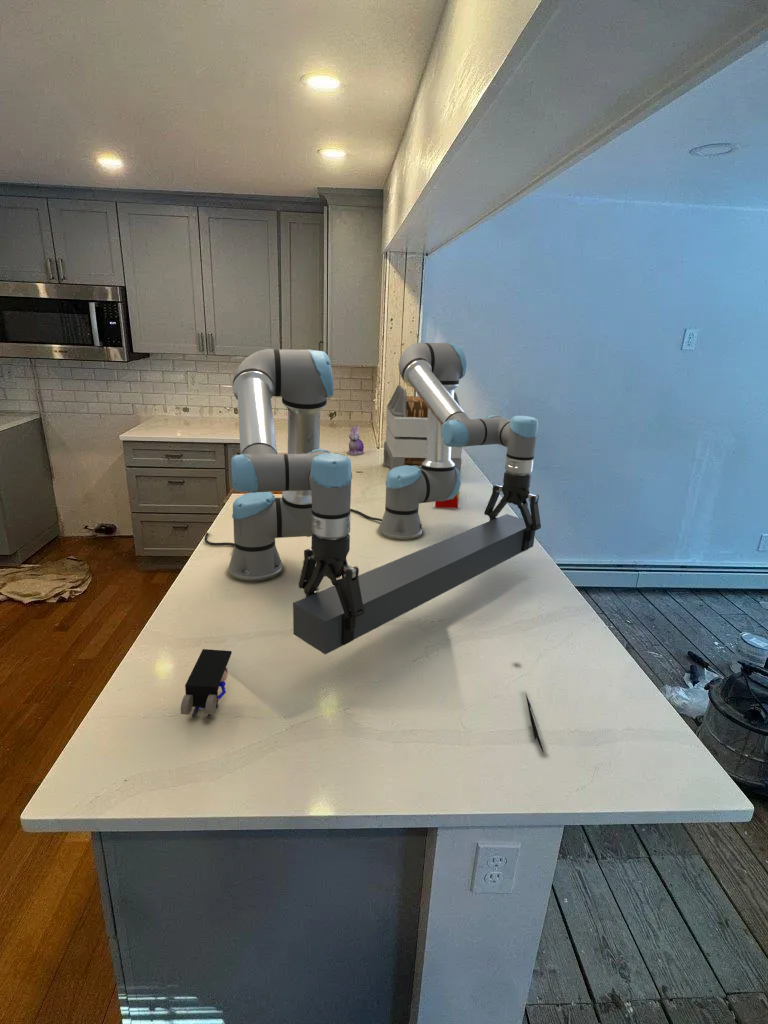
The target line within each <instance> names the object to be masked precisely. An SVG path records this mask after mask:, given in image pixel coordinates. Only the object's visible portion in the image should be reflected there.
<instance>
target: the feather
mask: <svg viewBox="0 0 768 1024" xmlns="http://www.w3.org/2000/svg"><path fill="white" fill-rule="evenodd" d="M525 697H526V698H525V699H526V703H527V708H528V714H529V719H530V723H531V728H532V733H533V738H534V740H537V742H538V744H539V746H540V749H541V751H542V753H545V751H544V749H543V746H542V741H541V739H543V737H544V736H543V734H541V735H542V736H539V733H542V730H541V729H539V731H538V728H539V727H540V725H539V723H538V721H537V719H536V716H535V713H534V711H533V708H532V705H531V703H530V700H529V697H528V694H527V692H526V691H525ZM536 725H537V726H536ZM540 737H541V739H540ZM544 744H545V743H544ZM544 746H547V745H546V744H545V745H544Z"/></svg>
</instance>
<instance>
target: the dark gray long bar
mask: <svg viewBox="0 0 768 1024" xmlns="http://www.w3.org/2000/svg"><path fill="white" fill-rule="evenodd" d="M525 529H527V528H526V525H525V522H524V520H523V518H521V517H518V516H515V515H511V514H509V513H506V514H503V515H501V516H499V517H498V516H497V517H496V519H493V520H491V521H486V522H483V523H482V524H479V525H476V526H474V527H471V528H469V529H467V530H465V531H463V532H460V533H458V534H455V535H453V536H452V535H451V536H450V537H447V538H445V539H443V540H440V541H438V542H436V543H433V544H430V545H428V546H426V547H423V548H421V549H419V550H417V551H414V552H411V553H409V554H407V555H404V556H402V557H400V558H397V559H395V560H392V561H390V562H388V563H385V564H382V565H380V566H378V567H375V568H372V569H371V570H368V571H366V572H364V573H360V574H358V580H359V585H360V591H361V596H362V602H363V607H364V614H363V615H360V616H358V617H356V628H355V629H354V640H356V639H358V638H361V637H362V636H364V635H366V634H368V633H370V632H372V631H373V630H375V629H377V628H379V627H381V626H383V625H385V624H387V623H389V622H391V621H393V620H395V619H397V618H399V617H400V616H402V615H405V614H406V613H408V612H410V611H412V610H413V609H416V608H418V607H420V606H422V605H423V604H425V603H427V602H429V601H431V600H433V599H436V598H437V597H439V596H441V595H443V594H445V593H446V592H448V591H450V590H453V589H455V588H457V587H458V586H460V585H462V584H464V583H465V582H468V581H470V580H472V579H474V578H475V577H477V576H479V575H482V574H483V573H485V572H487V571H489V570H491V569H492V568H495V567H496V566H498V565H500V564H503V563H504V562H506V561H508V560H510V559H513V558H515V556H518V555H520V554H522V553H523V551H521V549H522V542H523V535H524V530H525ZM535 537H536V531H534V532H533V539H532V540H531V541H529V548H528V550H530V549H531V548H533V547H534V542H535ZM317 592H318V593H315V594H313V595H310V596H308V597H306V596H305V597H303V598H301V599H298V600H296V601H293V602H292V625H293V626H292V631H293V632H292V633H293V635H294V636H295V637H297V638H298V639H300V640H301V641H303V642H305V643H306V644H308V645H309V646H311V647H313V648H314V649H316V650H317V651H319V652H320V653H322V654H323V655H327V654H329V653H331V652H333V651H335V650H337V649H339V648H341V647H343V646H344V645H342V644H341V637H342V615H344V614H345V613H344V611H343V608H342V605H341V602H340V599H339V596H338V593H337V590H336V588H335V586H334V585H331V586H330V587H327V588H325V589H323V590H320V591H317ZM349 610H350V609H349Z"/></svg>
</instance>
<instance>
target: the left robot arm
mask: <svg viewBox="0 0 768 1024" xmlns="http://www.w3.org/2000/svg"><path fill="white" fill-rule="evenodd" d="M334 391H335V386H334V377H333V368H332V365H331V360H330V357H329V355H328V354H327V353H326V352H325V351H323V350H314V349H285V348H284V349H279V348H278V349H277V348H265V349H261V350H257V351H255V352H254V353H252V354H250V355H248V356H247V357H246V358H245V359H244V360H242V362H241V363H240V364H239V366H237V368H236V370H235V372H234V375H233V378H232V392H233V393H232V394H233V395H234V397H235V399H236V400H237V410H238V411H237V412H238V413H237V414H238V427H239V428H238V431H239V450H240V451H239V453H240V454H234V455H232V457H231V458H230V463H231V464H230V465H231V467H230V468H231V484H232V486H231V487H232V489H233V490H234V491H235V492H237V493H245V494H242V495H240V496H238V497H237V498H235V500H234V501H233V503H232V514H231V517H232V520H233V522H232V523H233V542H212V541H209V539H208V537H209V532H206V533H205V535H204V543H206V544H207V545H210V546H231V547H234V548H233V551H232V554H231V558H230V560H229V565H228V571H229V572H228V573H229V575H230V577H232V578H233V579H235V580H238V581H241V582H247V583H248V582H249V583H255V582H265V581H268V580H272V579H274V578H276V577H278V576H279V575H280V574H281V573H282V572H283V562H282V559H281V557H280V554H279V552H278V548H277V547H276V546H277V545H276V539H283V538H284V539H285V538H299V537H300V538H302V537H307V538H311V547H309V548H307V549H304V550H303V559H304V560H303V563H302V568H301V572H300V576H299V581H298V588H299V589H300V590H303V593H304V594H305V598H306V597H308V596H310V595H313V594H315V593H318V592H319V591H318V590H319V589H320V588H319V586H320V585H321V583H322V581H323V579H324V578H325V577H327V578H328V579H329V580H330V583H331V584H332V585H331V586H335V588H336V590H337V593H338V596H339V599H340V602H341V605H342V608H343V611H344V613H345V614H344V615H342V637H341V644H342V645H343V646H345V645H347V644H349V643H351V642H354V640H355V639H354V629H355V628H356V617H358V616H360V615H363V614H364V607H363V602H362V596H361V591H360V585H359V580H358V576H359V575H360V574H359V573H360V570H359V567H358V566H353V567H352V566H351V565H349V564H348V560H347V556H348V554H349V553H350V550H351V548H350V547H351V535H350V533H351V511H350V509H351V504H352V503H351V498H352V479H353V472H352V461H351V458H349V456H347V455H344V454H341V453H336V452H335V453H334V452H331V451H329V450H328V449H324V448H320V442H321V441H320V438H321V437H320V436H321V411H322V410H323V409H324V408H325V407H326V406H327V404H328V403H327V401H328V399H330V398H332V397H334ZM273 397H275V398H278V397H280V398H281V404H282V405H283V406H284V407H285V408H286V409H287V453H278V448H277V438H276V431H275V430H276V429H275V423H274V422H275V421H274V415H273V407H272V398H273ZM274 492H281V497H275V496H276V495H274ZM340 577H341V578H340ZM349 609H350V610H349Z"/></svg>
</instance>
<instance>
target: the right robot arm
mask: <svg viewBox="0 0 768 1024" xmlns="http://www.w3.org/2000/svg"><path fill="white" fill-rule="evenodd" d="M467 370H468V360H467V356H466V353H465V351H464V349H463V348H462V347H461V346H460V345H459V344H457V343H451V342H415V343H412V344H410V345H409V346H408V347H405V349H404V350H403V352H402V353H401V355H400V357H399V361H398V372H399V375H400V377H401V379H402V380H403V382H404V383H405V384H406V385H407V386H408V387H410V388H413V390H414V391H415V393H417V395H418V397H421V399H422V400H423V401H424V403H425V404H426V405H427V407H428V423H427V451H426V459H425V460H424V461H423V462H422V466H421V467H420V466H411V465H410V466H407V465H404V466H399V467H395V468H393V469H391V470H390V469H389V470H388V472H387V475H386V479H385V504H384V505H385V507H384V508H385V509H384V513H383V515H382V518H378V517H373V516H369V515H367V514H365V513H363V512H362V511H359V510H356V509H353V508H350V512H353V513H356V514H359V515H360V516H362V517H364V518H367V519H369V520H372V521H378V522H379V526H378V533H379V534H380V535H381V536H382V537H385V538H387V539H389V540H395V541H410V540H415V539H418V538H420V537H421V536H422V535H423V525H422V523H421V518H420V515H419V507H420V506H419V505H420V504H425V503H426V504H427V503H433V502H435V501H445V500H449V499H452V498H454V497H455V496H456V495H457V493H458V492H459V493H460V489H461V485H462V477H461V474H460V473H459V471H458V470H457V469H456V468H455V464H454V463H453V462H452V460H451V447H462V448H465V447H477V446H489V445H490V446H491V445H498V446H499V445H500V446H502V447H505V448H506V456H505V464H504V470H505V471H504V473H503V479H502V480H503V481H502V483H503V484H502V485H501V484H500V483H498V484H495V485H493V486H492V491H491V495H490V497H489V500H488V503H487V505H486V507H485V510H484V512H483V514H484V515H485V516H487V517H488V518H489V521H491V520H493V519H496V518H498V516H499V514H500V513H501V512H502V510H503V509H504V508H505V506H506V505H507V504H513V505H515V506H517V508H518V509H519V511H520V514H521V516H522V519H523V520H524V522H525V525H526V528H527V529H525V530H524V535H523V542H522V549H521V551H523V552H526V551H527V550H529V549H530V548H529V541H531V540H532V539H533V532H534V531H535V532H536V531H538V530H540V529H542V525H541V523H542V522H541V517H540V516H541V515H540V509H539V499H540V496H539V494H532V493H531V492H530V487H531V481H532V474H531V473H532V472H533V466H534V459H535V452H536V444H537V438H538V435H539V431H538V430H539V421H538V419H537V418H535V417H533V416H527V415H514V416H512V417H511V418H510V419H508V418H505V417H503V416H500V415H488V416H486V417H485V418H470V417H469V415H468V414H467V413H466V412H465V411H464V410H463V408H462V407H461V405H460V404H459V405H460V406H459V405H458V404H457V402H456V401H455V400H454V392H455V390H456V388H458V387H459V385H460V380H461V379H463V378H464V377H465V376H466V373H467ZM459 474H460V476H459ZM501 493H502V494H503V496H502V498H501V499H500V501H499V502H498V503H497V501H498V499H499V498H500V494H501ZM527 499H528V500H527ZM528 502H529V503H528ZM496 504H497V505H496ZM489 521H488V522H489ZM528 548H529V549H528ZM523 552H522V553H523Z"/></svg>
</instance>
